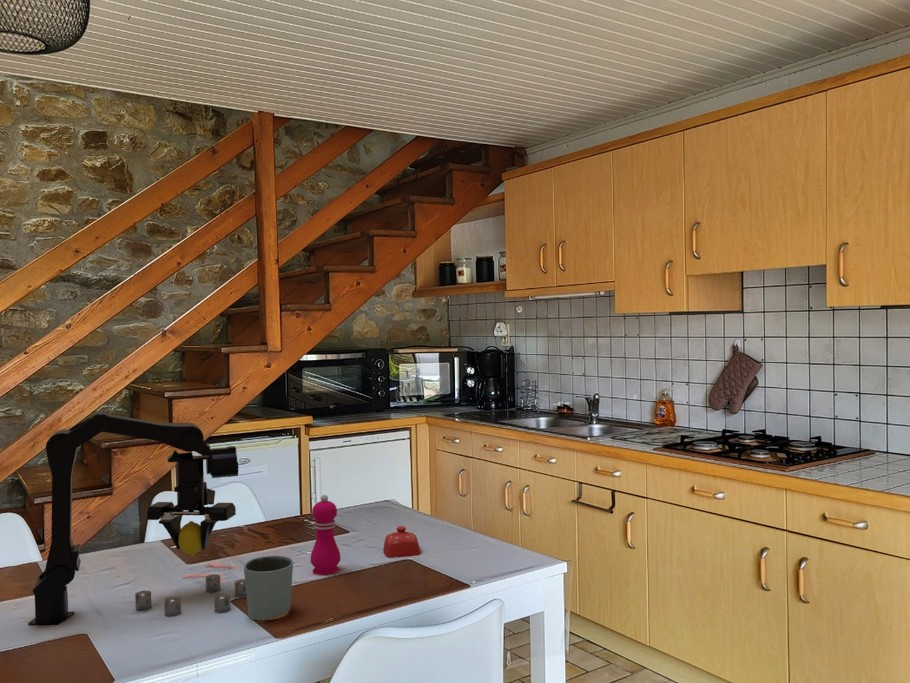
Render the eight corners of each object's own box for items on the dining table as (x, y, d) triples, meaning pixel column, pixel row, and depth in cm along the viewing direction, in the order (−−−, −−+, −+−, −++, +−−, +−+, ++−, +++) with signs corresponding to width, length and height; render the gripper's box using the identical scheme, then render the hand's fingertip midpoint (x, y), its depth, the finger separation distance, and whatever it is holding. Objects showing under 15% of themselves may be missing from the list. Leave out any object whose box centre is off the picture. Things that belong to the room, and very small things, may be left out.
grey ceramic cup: (274, 606, 166) (273, 552, 166) (304, 617, 160) (303, 561, 160) (234, 621, 158) (233, 564, 158) (264, 633, 152) (263, 574, 152)
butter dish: (377, 553, 204) (377, 521, 204) (420, 550, 206) (419, 519, 206) (381, 567, 193) (381, 533, 192) (426, 563, 195) (426, 530, 195)
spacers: (228, 621, 158) (227, 602, 158) (125, 619, 160) (125, 600, 160) (256, 592, 175) (255, 574, 175) (163, 590, 177) (163, 573, 177)
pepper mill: (304, 578, 184) (303, 496, 184) (323, 569, 191) (321, 490, 190) (328, 583, 181) (327, 499, 180) (346, 573, 187) (345, 493, 187)
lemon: (196, 561, 167) (195, 525, 167) (173, 559, 168) (172, 523, 168) (209, 553, 173) (208, 518, 172) (187, 552, 174) (186, 517, 174)
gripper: (244, 473, 177) (245, 539, 178) (167, 472, 179) (169, 538, 179) (225, 483, 166) (226, 554, 167) (143, 482, 168) (145, 552, 168)
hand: (191, 549), depth 171 cm, fingers closed on lemon, 5 cm apart
